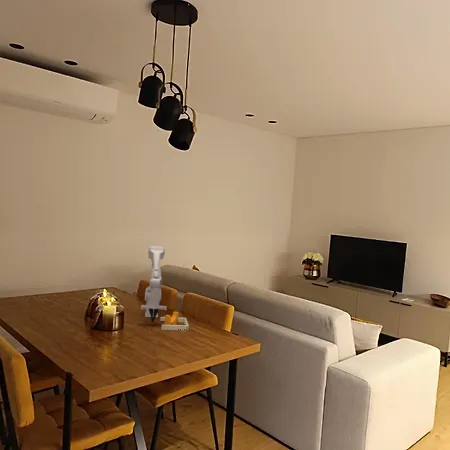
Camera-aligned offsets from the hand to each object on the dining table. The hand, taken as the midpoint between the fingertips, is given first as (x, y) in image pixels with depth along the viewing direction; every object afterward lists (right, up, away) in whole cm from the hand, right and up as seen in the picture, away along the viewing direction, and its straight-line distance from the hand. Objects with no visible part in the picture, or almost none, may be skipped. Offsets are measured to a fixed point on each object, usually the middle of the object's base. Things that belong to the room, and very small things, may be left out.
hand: (152, 321), depth 249 cm
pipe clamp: (+11, -3, +3) cm, 12 cm away
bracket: (+12, -3, +2) cm, 12 cm away
